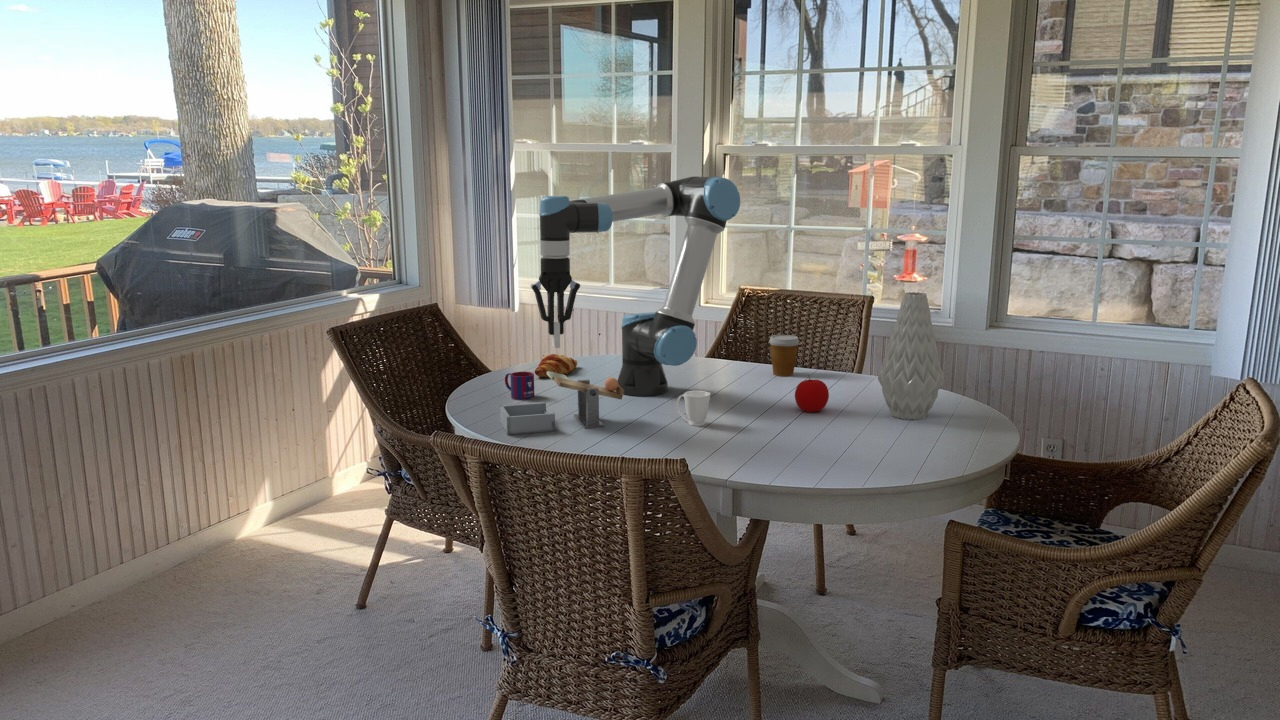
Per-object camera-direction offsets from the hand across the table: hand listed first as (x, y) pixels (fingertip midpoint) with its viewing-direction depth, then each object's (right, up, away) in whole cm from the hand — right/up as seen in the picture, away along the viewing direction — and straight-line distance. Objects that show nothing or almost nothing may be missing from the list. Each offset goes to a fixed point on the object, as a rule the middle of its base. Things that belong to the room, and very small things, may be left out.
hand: (556, 346), depth 250 cm
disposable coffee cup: (+67, -8, +53) cm, 86 cm away
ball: (+15, -10, -1) cm, 18 cm away
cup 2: (+36, -20, -2) cm, 41 cm away
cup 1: (-13, -14, +26) cm, 32 cm away
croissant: (-4, -8, +56) cm, 56 cm away
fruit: (+68, -17, +9) cm, 71 cm away
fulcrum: (+9, -20, -1) cm, 21 cm away
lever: (+7, -10, 0) cm, 13 cm away
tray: (-7, -21, -6) cm, 22 cm away
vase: (+93, -19, +3) cm, 95 cm away
